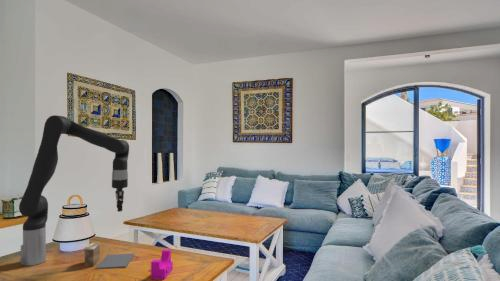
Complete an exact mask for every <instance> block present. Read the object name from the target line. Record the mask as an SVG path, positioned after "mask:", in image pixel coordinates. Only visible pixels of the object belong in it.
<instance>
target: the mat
mask: <svg viewBox="0 0 500 281" xmlns="http://www.w3.org/2000/svg"><path fill="white" fill-rule="evenodd" d="M134 257H135V253H120V254H119V253H118V254H117V253H116V254H107V255H106V256H104V258H103V259H102V260H100V261H99V262H98V263H97V265H96V266H95V268H94V269H95V270H97V269H98V270H99V269H119V268H120V269H122V268H123V269H124V268H127V267H128V265H129V264H130V262H131V260H132V259H133V258H134Z"/></svg>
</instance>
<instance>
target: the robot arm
mask: <svg viewBox="0 0 500 281" xmlns="http://www.w3.org/2000/svg"><path fill="white" fill-rule="evenodd" d="M63 134H64V135H69V136H74V137H76V138H79V139H81V140H83V141H85V142H87V143H89V144H91V145H94V146H97V147H100V148H103V149H105V150H107V151H110V152H111V153H114V159H112V160H113V161H112V173H111V188H112V189H116V190H115V192H114V193H115V194H114V195H115V201H116V208H117V209H116V210H117V212H123V204H124V199H125V198H124V197H125V196H124V195H125V191H124V190H123V189H126V188H128V185H129V184H128V183H129V182H128V179H129V178H128V177H129V172H128V158H129V154H130V145H129V143H128V141H127V140H124V139H119V138H118V139H117V138H115V137H111V135H108V134H106V133H104V132H101V131H97V130H95V129H91V128H88V127H86V126H83V125H81V124H79V123H77V122H75V121H73V120H71V119H70V118H67V117H66V116H63V115H57V114H56V115H55V114H54V115H50V116H49V117H47V119H46V121H45V123H44V126H43V133H42V137H41V142H40V144H39V148H38V152H37V154H36V157H35V160H34V164H33V166H32V170H31V174H30V176H29V180H28V182H27V186H26V188H25V190H24V193H23V195H22V197H21V200H20V202H19V205H18V210H19V213H20V214H21V216H23V217H27V219H26V220H25V221H24V223H23V224H22V244H21V245H20V265H21V266H25V267H30V266H31V267H32V266H35V265H39V264H42V263H44V262H46V257H47V254H46V252H47V251H46V246H47V245H46V242H47V240H46V233H47V232H46V231H47V230H46V226H47V225H46V223H47V221H48V217H49V216H48V214H49V213H48V212H49V202H48V199H47V198H46V197H45V195H42V194H43V191H44V189H45V187H46V186H47V185H48V183H49V182H50V180H51V179H52V178H53V175H55V172H56V168H57V166H58V161H59V153H58V143H59V142H60V138H61V136H62V135H63Z"/></svg>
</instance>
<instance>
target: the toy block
mask: <svg viewBox="0 0 500 281" xmlns="http://www.w3.org/2000/svg"><path fill="white" fill-rule="evenodd" d="M171 253H172V249H162V251H161V255H160V256H161V257H160V259H153V260H152V261H151V262H150V279H152V280H166V279H167V277H168V276H169V274H170V273H171V272H172V271H173V267H174V266H173V263H174V262H173V261H172V254H171Z"/></svg>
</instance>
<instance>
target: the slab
mask: <svg viewBox="0 0 500 281" xmlns="http://www.w3.org/2000/svg"><path fill="white" fill-rule="evenodd" d="M100 244H101V243H100V242H91V243H90V244H88V245H87V246H86V247H85V248H84V267H85V268H87V267H88V268H89V267H95V265H97V264H98V263H99V262H100V261H101V260H100V259H101V258H100V257H101V250H100V249H101V247H100V246H101V245H100Z"/></svg>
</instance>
